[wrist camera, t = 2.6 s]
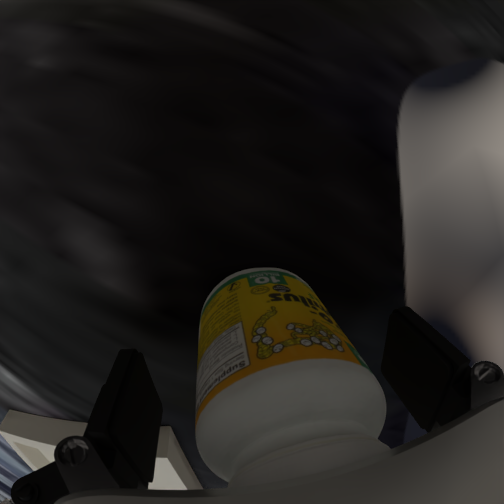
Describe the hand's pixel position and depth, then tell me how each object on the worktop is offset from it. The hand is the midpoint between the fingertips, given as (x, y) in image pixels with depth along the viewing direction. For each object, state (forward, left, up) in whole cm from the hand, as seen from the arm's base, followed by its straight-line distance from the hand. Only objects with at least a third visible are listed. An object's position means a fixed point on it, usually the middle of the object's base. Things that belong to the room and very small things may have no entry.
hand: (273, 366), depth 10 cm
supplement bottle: (0, 0, -4) cm, 4 cm away
